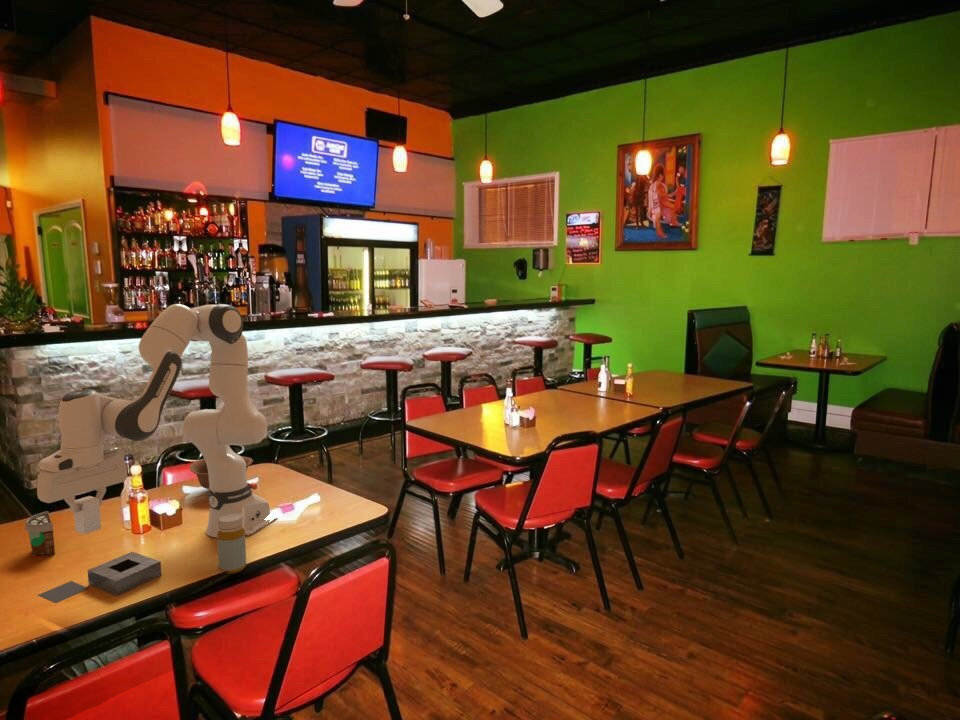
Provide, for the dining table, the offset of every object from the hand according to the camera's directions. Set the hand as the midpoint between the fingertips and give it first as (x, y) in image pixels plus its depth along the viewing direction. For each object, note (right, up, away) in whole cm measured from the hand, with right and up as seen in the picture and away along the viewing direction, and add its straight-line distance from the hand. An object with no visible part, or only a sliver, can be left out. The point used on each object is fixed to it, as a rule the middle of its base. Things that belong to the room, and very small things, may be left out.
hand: (86, 508), depth 153 cm
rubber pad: (-6, -22, 0) cm, 23 cm away
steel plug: (0, -6, +1) cm, 6 cm away
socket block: (+6, -21, +7) cm, 23 cm away
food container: (-29, -19, +24) cm, 42 cm away
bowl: (+3, -12, +75) cm, 76 cm away
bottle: (+31, -21, +15) cm, 40 cm away
